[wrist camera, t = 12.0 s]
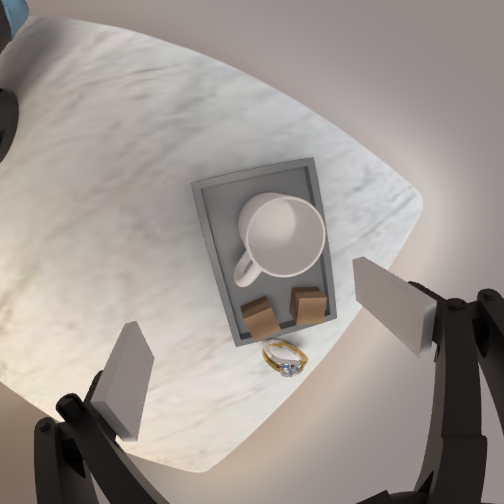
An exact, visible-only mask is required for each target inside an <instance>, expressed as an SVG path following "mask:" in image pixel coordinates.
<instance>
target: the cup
mask: <svg viewBox="0 0 504 504" xmlns="http://www.w3.org/2000/svg"><path fill="white" fill-rule="evenodd" d="M238 230H239V234H240V237H241V239H242V241H243V243H244V245H245V248H246V251H245V252H244V254H243V255H242V257H241V259H240V260H239V262H238V264H237V266H236V268H235V272H234V280H235V283H236V284H237V285H238V286H240V287H246V286H248V285H250V284H251V283H252V282H253V281H254V280H255V279H256V278H257V277H258V276H259V274H260V273H261V272H262V271H263V272H265V273H267V274H269V275H272V276H275V277H292V276H296V275H298V274H301V273H303V272H305V271H306V270H308V269H309V268H310V267H311V266H312V265H313V264H314V263H315V262H316V261H317V260H318V258H319V256H320V255H321V253H322V250H323V248H324V244H325V236H326V234H325V226H324V222H323V220H322V217H321V215H320V214H319V212H318V211H317V210H316V209H315V207H313V206H312V205H311V204H310V203H308V202H307V201H305V200H303V199H300V198H297V197H293V196H288V195H284V194H279V193H273V192H267V193H261V194H258V195H256V196H254V197H252V198H251V199H250V200H248V201H247V202H246V204H245V205H244V206H243V208H242V209H241V212H240V214H239V218H238ZM251 260H252V261H253V264H252V265H251V267H250V268H249V269H248V271H247V272H246V274H245V275H244V276H243V272H244V270H245V268H246V266H247V265H248V263H249V262H250V261H251Z"/></svg>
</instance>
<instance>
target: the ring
mask: <svg viewBox="0 0 504 504" xmlns="http://www.w3.org/2000/svg"><path fill="white" fill-rule="evenodd" d="M269 346H278V347H280V348H282V347H283V348H286V349H288V350H290V351H291V352H293V353H294V354H295V355H297V356H298V358H299V359H300V360H298V361H297V360H286V359H280V358H278V357H276V356H274V355H273V354H272V353H271V352H270V350H269ZM262 353H263V357H264V359H265V361H266V362H267V363H268V364H269V365H270V366H271V367H272V368H273V369H275V370H277V371H278V372H280V374H281V375H282V376H284V377H292V376H295V375H297V374H299V373H301V372H302V371H303V369H304V368H305V366H306V363H307V361H308V357H307V356H306V355H305V354H304V353H303V352H302V351H300V350H299V349H298V348H296V347H294V346H292V345H290V344H288V343H286V342H283V341H282V340H269V341H267V342H266V344H265V345H264V347H263V350H262ZM274 361H275V362H274ZM276 362H278V363H281V364H277V363H276ZM300 365H301V367H300V368H298V367H297V366H300ZM293 369H294V371H293ZM287 371H288V372H287Z"/></svg>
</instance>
